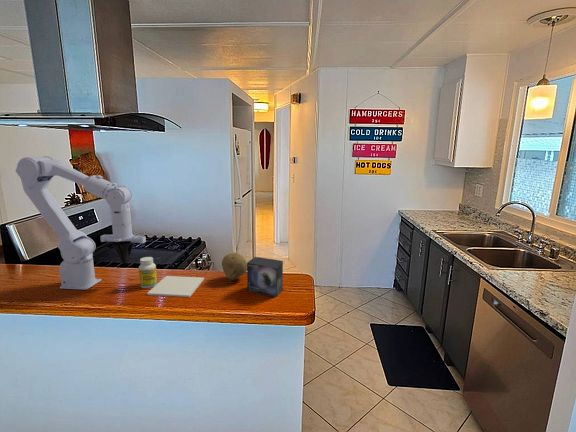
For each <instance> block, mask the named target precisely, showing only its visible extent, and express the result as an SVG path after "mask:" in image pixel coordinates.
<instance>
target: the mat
mask: <svg viewBox="0 0 576 432" xmlns="http://www.w3.org/2000/svg"><path fill="white" fill-rule="evenodd" d="M204 280H205V277H199V276H198V277H195V276H179V275H178V276H176V275H175V276H174V275H166V276H164V277H163V278H162V279H161V280H160V281H158V282H157V285H156V286H154V287H152V288H150V290H149V291H148V292H147V293H146V295H147V296H160V297H176V298H177V297H181V298H190V297H192V295H193V294H194V293H195V291H196V290H197V289H198V288H199V286H200V285H201V284H202V283H203V281H204Z"/></svg>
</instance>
